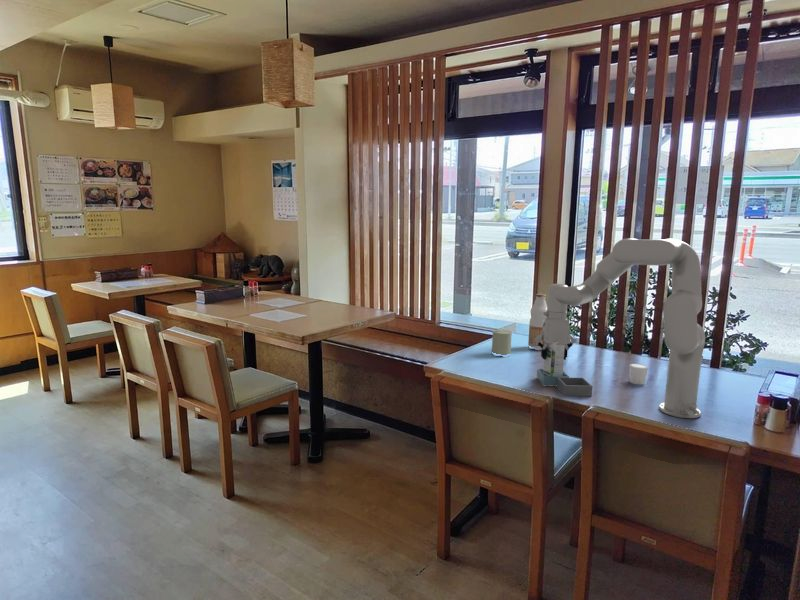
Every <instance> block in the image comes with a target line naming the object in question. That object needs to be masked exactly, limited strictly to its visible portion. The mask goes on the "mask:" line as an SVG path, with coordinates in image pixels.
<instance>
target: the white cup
mask: <svg viewBox="0 0 800 600" xmlns="http://www.w3.org/2000/svg"><path fill="white" fill-rule="evenodd" d="M628 368H629V383H631V384H634V385H639V386H640V385H645V383H646V379H647V375H648V368H649V366H648V365H646V364H642V363H629V367H628Z"/></svg>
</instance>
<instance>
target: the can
mask: <svg viewBox="0 0 800 600" xmlns="http://www.w3.org/2000/svg"><path fill="white" fill-rule="evenodd" d="M512 334H513V332H512V330H507V329H494V330H492V338H491V339H492V340H491V353H492V352H493V353H496V354H501V355H507V354H510V353H512V350H511V349H512Z"/></svg>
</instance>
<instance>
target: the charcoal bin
mask: <svg viewBox="0 0 800 600" xmlns="http://www.w3.org/2000/svg"><path fill="white" fill-rule="evenodd" d="M557 387H558V388H559V389H560V390H559V389H558V388H557ZM556 388H557V389H558V390H559V392H560V393H561V394H562V393H563V394H564V395H565V396H564V395H563V396H564V397H592V396H593V395H592V394H593V385H592V384H591V383H589V382H588V381H587V380H586V379H585V378H584V377H569V378H566V377H557V386H556Z"/></svg>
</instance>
